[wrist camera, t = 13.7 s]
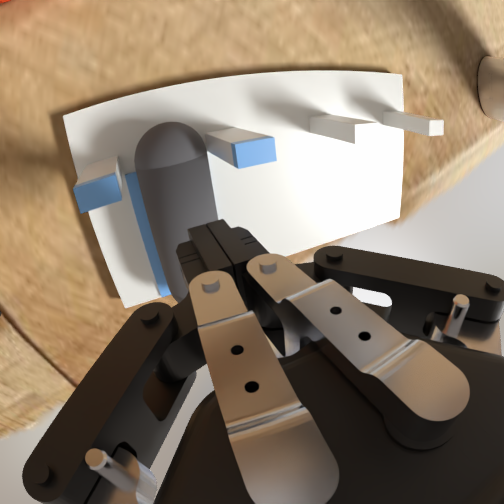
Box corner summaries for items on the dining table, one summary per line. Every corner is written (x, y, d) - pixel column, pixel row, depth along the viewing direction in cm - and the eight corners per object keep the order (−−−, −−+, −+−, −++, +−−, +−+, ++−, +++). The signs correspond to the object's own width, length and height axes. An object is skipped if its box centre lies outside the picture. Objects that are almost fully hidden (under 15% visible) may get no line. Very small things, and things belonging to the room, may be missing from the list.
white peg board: (392, 73, 22) (454, 79, 17) (391, 213, 29) (441, 241, 24) (66, 115, 15) (38, 120, 10) (124, 299, 22) (132, 362, 17)
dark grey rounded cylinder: (126, 129, 16) (127, 135, 13) (192, 113, 17) (209, 116, 14) (171, 295, 22) (182, 330, 19) (222, 278, 23) (241, 310, 20)
